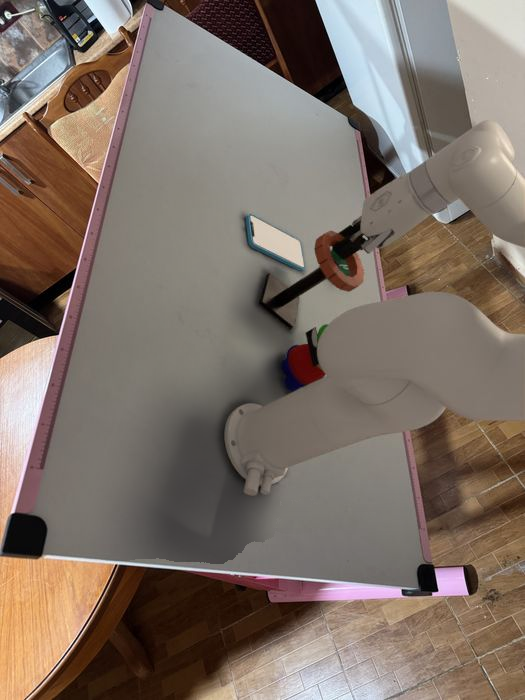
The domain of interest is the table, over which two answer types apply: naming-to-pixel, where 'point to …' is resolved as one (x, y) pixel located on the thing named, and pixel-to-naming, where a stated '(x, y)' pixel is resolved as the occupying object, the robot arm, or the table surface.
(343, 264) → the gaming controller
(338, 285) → the ring
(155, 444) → the table surface
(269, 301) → the post
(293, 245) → the smartphone
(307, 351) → the toy
